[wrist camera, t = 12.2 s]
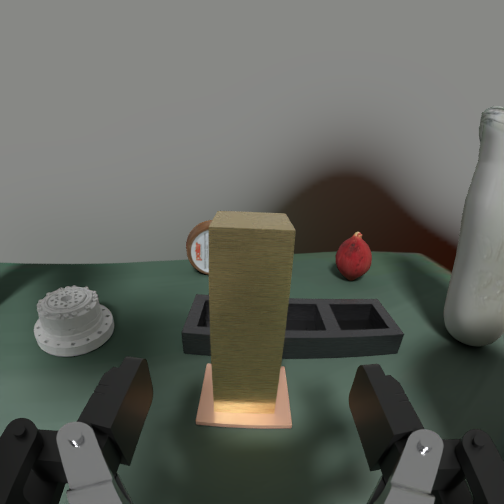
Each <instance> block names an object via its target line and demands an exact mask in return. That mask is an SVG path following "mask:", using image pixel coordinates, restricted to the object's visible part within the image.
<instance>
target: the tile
mask: <svg viewBox="0 0 504 504" xmlns="http://www.w3.org/2000/svg"><path fill="white" fill-rule="evenodd" d="M196 425H207V426H218V427H234V428H291V427H292V421H291V413H290V405H289V397H288V389H287V382H286V374H285V367H281V369H280V376H279V384H278V391H277V398H276V404H275V411H274V414H254V413H226V412H214V401H213V384H212V365H211V364H208V363H207V367H206V372H205V377H204V382H203V387H202V392H201V397H200V402H199V407H198V412H197V417H196Z"/></svg>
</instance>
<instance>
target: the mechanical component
mask: <svg viewBox="0 0 504 504" xmlns="http://www.w3.org/2000/svg"><path fill="white" fill-rule="evenodd" d="M46 295H47V296H46V297H45V298H44V299H40V300H39V303H38V304H37V311H38V315H39V319H38V321H37V322H36V324H35V327H34V333H35V337H36V340H37V343H38V345H39V346H40V348H41V349H42V350H44V351H45V352H47V353H49V354H52V355H55V356H77V355H81V354H85V353H88V352H90V351H92V350H95V349H97V348H98V347H100V346H101V345H103V344H104V343H105V342H106V341H107V340H108V339H109V338H110V337H111V335H112V334H113V330H114V321H113V316H112V314H111V312H110V311H109V309H107V308H106V307H105V306H103V305H100V304H99V300H98V294H96V291H92V290H89V288H88V287H84V288H82V287H76V286H75V285H74V286H72V287H69V286H66V287H65V288H59V289H58V290H56V291H54V292H51V293H47V294H46Z"/></svg>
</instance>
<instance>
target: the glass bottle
mask: <svg viewBox="0 0 504 504" xmlns="http://www.w3.org/2000/svg"><path fill="white" fill-rule="evenodd" d="M479 139H480V149H479V160H478V163H477V166H476V170H475V172H474V175H473V178H472V182H471V185H470V187H469V190H468V194H467V197H466V200H465V205H464V210H463V214H462V220H461V228H460V235H459V241H458V248H457V254H456V259H455V263H454V267H453V271H452V275H451V279H450V282H449V287H448V291H447V296H446V301H445V306H444V322H445V326H446V328H447V330H448V332H449V333H450V334H451V335H452V336H453V337H454V338H455V339H456V340H458V341H460V342H462V343H464V344H467V345H470V346H485V345H488V344H491V343H493V342H495V341H496V340H497V339H498V338H500V337H501V335H502V334H503V333H504V107H499V106H493V107H491V108H488V109H486V110H485V111H484V112H483V113H482V117H481V122H480V127H479Z"/></svg>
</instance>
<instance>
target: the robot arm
mask: <svg viewBox="0 0 504 504" xmlns="http://www.w3.org/2000/svg"><path fill="white" fill-rule="evenodd" d="M152 399H153V386H152V382H151V378H150V373H149V368H148V364H147V361H146V359H143V358H135V357H129V356H127V357H125V359H124V360H123V362H122V364H121V366H120V367H119V368H116V367H113V368H112V369H110V370H109V371H108V372H106V373H105V374H104V375H103V377H102V378H101V380H100V382H99V385H98V386H97V387H96V389H95V390H94V393H93V394H92V396H91V397H90V399H89V401H88V403H87V404H86V406H85V408H84V410H83V412H82V413H81V415H80V417H79V419H78V420H77V422H71V423H68V424H65V425H64V426H63V427H61V428H60V430H59V431H52V430H38V429H37V427H36V426H35V424H34V423H33V422H32V421H31V420H29V419H26V418H18V419H15V420H13V421H11V422H10V423H9V424H8V426H7V427H6V429H5V430H4V432H3V434H2V436H1V437H0V504H59V501H60V498H61V495H62V492H63V489H64V487H65V484H66V483H68V484H69V488H70V489H69V490H67V498H68V501H69V504H134V503H133V502H132V500H131V498H130V496H129V494H128V492H127V490H126V488H125V486H124V484H123V482H122V480H121V478H120V476H119V474H118V472H117V470H118V467H119V464H124V465H128V466H130V463H131V460H132V457H133V454H134V451H135V448H136V445H137V443H138V440H139V437H140V434H141V431H142V428H143V425H144V422H145V419H146V417H147V414H148V411H149V408H150V405H151V403H152ZM349 406H350V410H351V413H352V416H353V419H354V422H355V425H356V428H357V431H358V434H359V437H360V440H361V443H362V446H363V449H364V452H365V456H366V459H367V462H368V465H369V468H370V471H374V470H379V469H381V472H382V476H381V477H380V479H379V481H378V483H377V485H376V487H375V489H374V491H373V493H372V494H371V496H370V498H369V500H368V502H367V504H504V462H503V460H502V458H501V456H500V454H499V452H498V450H497V448H496V447H495V445H494V443H493V441H492V439H491V438H490V436H489V435H488V434H487V433H486V432H484V431H482V430H479V429H472V430H470V431H468V432H466V434H465V435H464V436H463V437H462V439H452V440H443V439H441V437H440V436H439V435H438V434H437V433H435V432H433V431H431V430H427V429H424V427H423V425H422V424H421V422H420V420H419V418H418V416H417V414H416V412H415V410H414V408H413V407H412V405H411V403H410V402H409V399H408V397H407V396H406V394H404V390H403V388H402V387H401V385H400V383H399V382H398V381H397V380H395V379H394V378H393V377H392V376H391V375H387V376H385V374H384V372H383V370H382V368H381V366H380V365H379V364H371V365H360V366H359V367H358V369H357V372H356V375H355V378H354V382H353V385H352V388H351V391H350V394H349ZM465 479H467V481H468V484H469V486H470V489H471V491H472V494H473V498H474V500H473V499H472V497H471V494H470V492H469V489H468V487H467V484H466V482H465Z"/></svg>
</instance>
